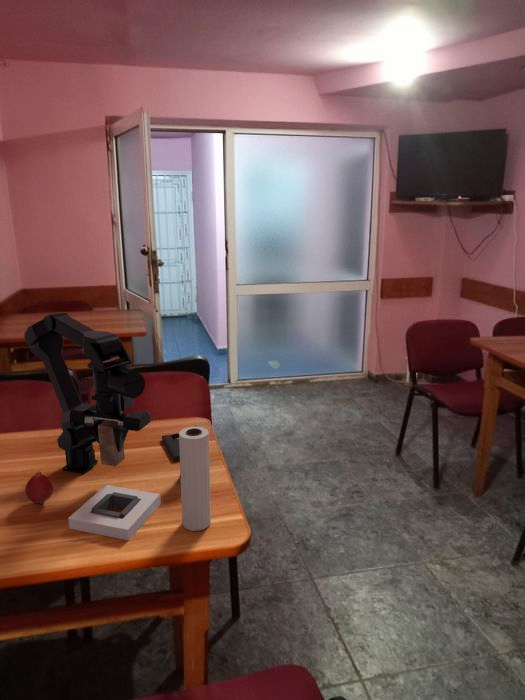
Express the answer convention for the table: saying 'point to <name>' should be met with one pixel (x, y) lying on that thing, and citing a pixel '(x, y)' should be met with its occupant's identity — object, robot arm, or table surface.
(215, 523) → the table surface
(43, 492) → the onion
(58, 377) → the robot arm
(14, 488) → the table surface
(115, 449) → the walnut peg
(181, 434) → the paper towel roll
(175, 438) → the vhs tape
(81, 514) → the collar block
